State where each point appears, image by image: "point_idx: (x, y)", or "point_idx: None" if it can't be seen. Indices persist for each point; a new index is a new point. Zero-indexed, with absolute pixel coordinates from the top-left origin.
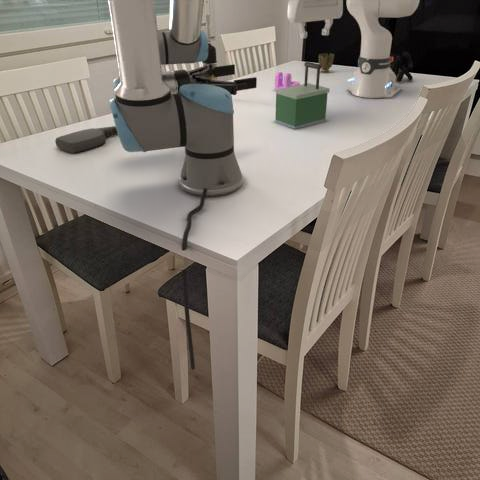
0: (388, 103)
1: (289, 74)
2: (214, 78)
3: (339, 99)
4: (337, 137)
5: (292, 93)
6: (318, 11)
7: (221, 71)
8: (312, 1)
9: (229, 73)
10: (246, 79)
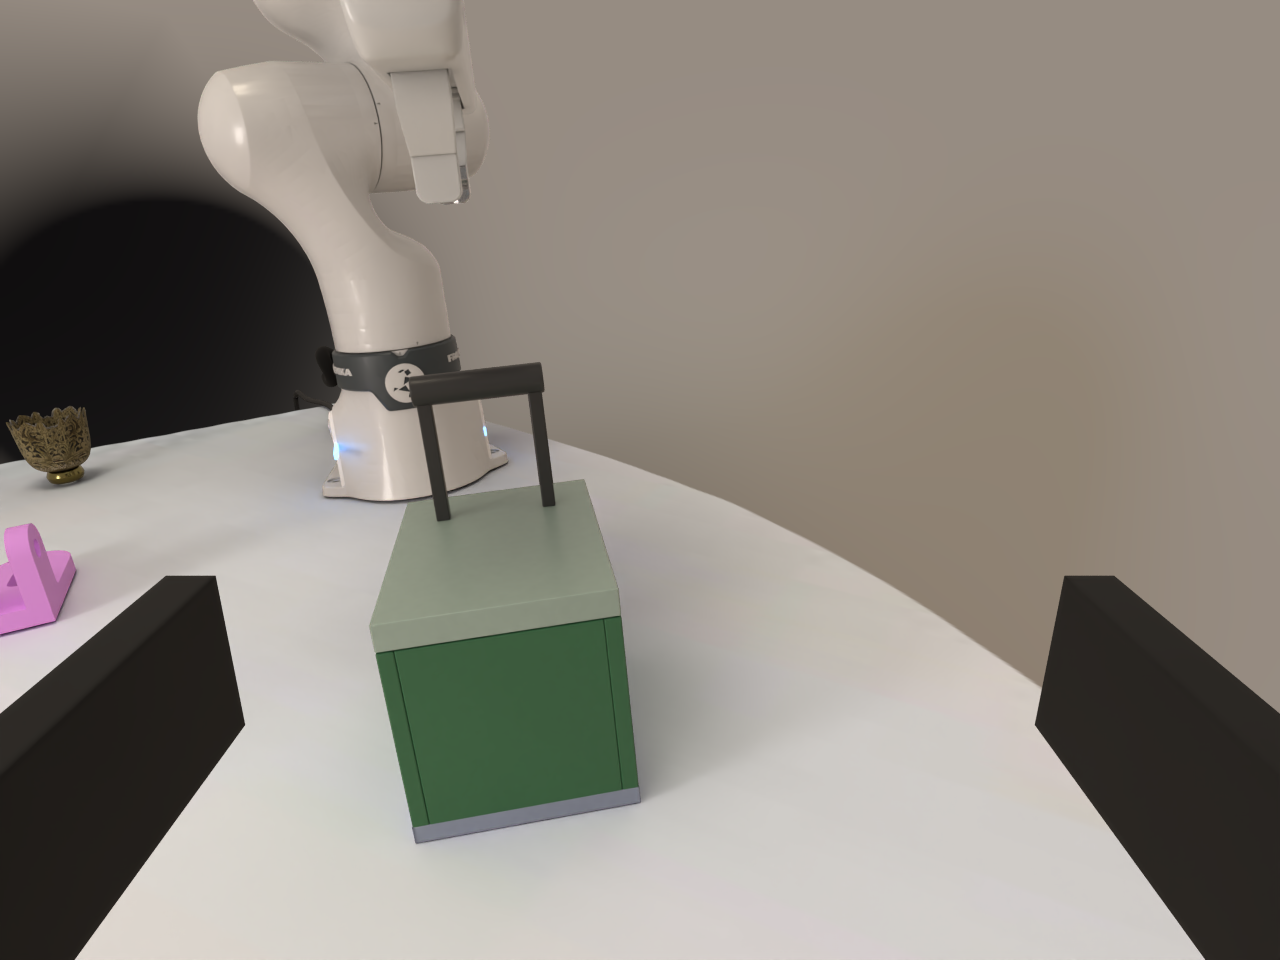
0: (553, 477)
1: (31, 529)
2: None
3: (379, 537)
4: (885, 690)
5: (551, 590)
6: (463, 23)
7: (39, 868)
8: None
9: (183, 773)
10: (1260, 699)
